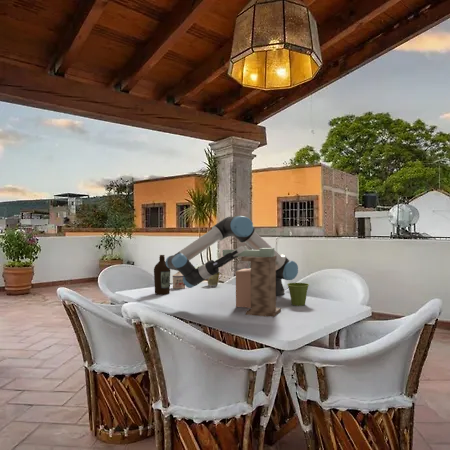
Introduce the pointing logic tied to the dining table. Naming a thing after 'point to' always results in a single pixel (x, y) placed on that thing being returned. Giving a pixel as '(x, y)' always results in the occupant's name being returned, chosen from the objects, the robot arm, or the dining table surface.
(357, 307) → the dining table surface
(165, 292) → the olive oil
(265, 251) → the handle rail
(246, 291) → the reddish brown block
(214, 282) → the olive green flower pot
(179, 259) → the robot arm
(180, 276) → the teacup with lid
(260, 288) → the tall stand
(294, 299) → the plant pot
